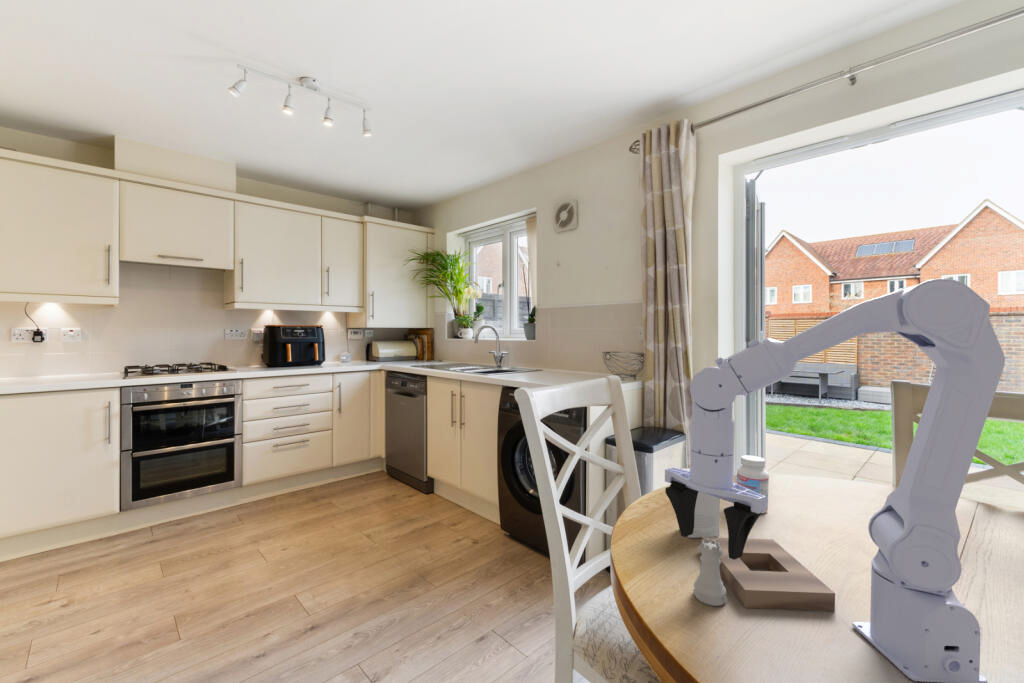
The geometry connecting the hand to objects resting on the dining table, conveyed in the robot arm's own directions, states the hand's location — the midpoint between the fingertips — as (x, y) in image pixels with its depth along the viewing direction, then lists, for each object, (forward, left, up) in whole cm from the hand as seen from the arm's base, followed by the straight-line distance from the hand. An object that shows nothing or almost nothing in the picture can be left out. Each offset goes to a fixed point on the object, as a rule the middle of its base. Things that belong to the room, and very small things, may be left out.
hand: (710, 545), depth 63 cm
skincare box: (+21, -6, -8) cm, 23 cm away
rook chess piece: (0, 0, -8) cm, 8 cm away
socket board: (+6, -10, -8) cm, 14 cm away
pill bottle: (+34, -22, -8) cm, 41 cm away
